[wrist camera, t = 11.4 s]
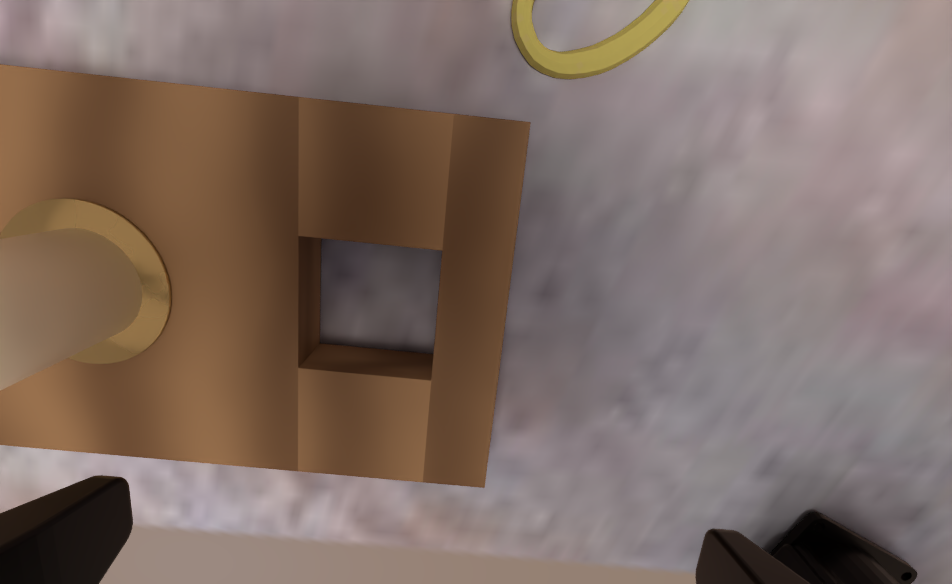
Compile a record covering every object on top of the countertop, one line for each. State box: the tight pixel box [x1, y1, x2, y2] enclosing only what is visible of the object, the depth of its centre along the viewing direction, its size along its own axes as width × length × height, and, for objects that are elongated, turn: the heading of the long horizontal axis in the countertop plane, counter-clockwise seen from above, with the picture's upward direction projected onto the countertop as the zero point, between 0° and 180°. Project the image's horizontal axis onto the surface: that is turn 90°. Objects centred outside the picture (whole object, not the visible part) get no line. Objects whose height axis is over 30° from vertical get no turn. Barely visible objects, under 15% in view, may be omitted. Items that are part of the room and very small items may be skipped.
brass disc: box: [0, 198, 172, 364], centre depth 17 cm, size 6×6×1 cm
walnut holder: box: [0, 64, 530, 488], centre depth 18 cm, size 20×14×2 cm
